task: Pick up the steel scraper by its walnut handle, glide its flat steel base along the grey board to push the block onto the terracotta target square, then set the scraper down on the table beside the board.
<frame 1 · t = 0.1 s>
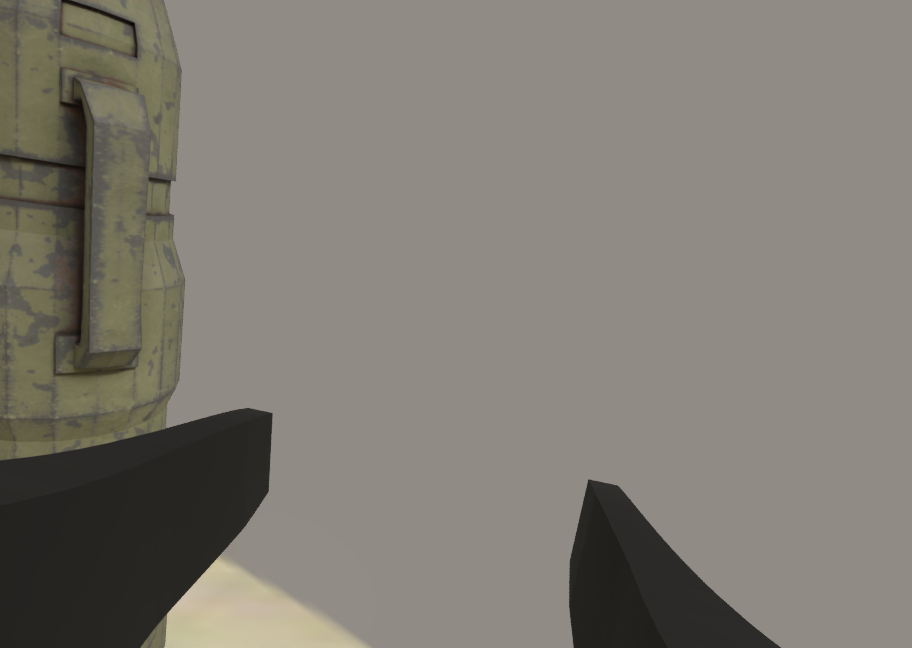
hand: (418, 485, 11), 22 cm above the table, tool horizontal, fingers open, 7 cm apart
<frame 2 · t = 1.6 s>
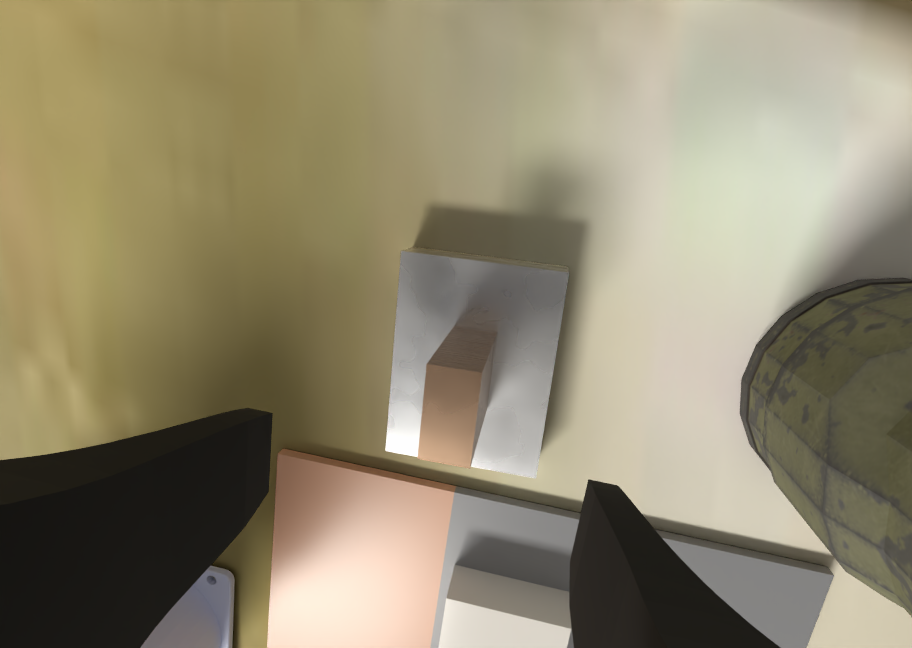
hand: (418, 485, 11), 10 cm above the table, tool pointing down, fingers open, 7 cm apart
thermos: (863, 395, 19), on the table
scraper: (477, 352, 21), on the table
block: (501, 624, 23), resting on mat
mat: (513, 619, 24), on the table
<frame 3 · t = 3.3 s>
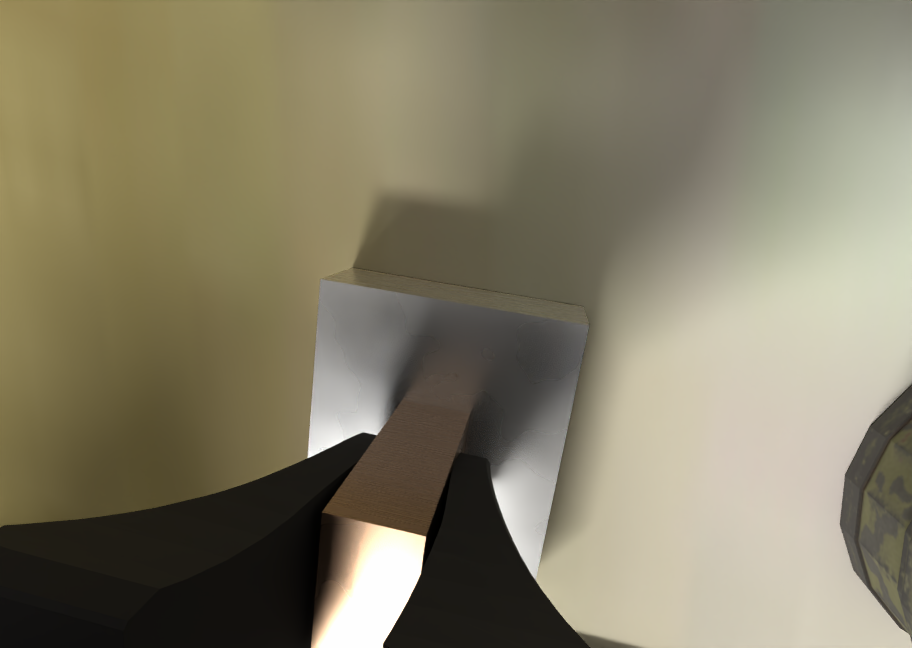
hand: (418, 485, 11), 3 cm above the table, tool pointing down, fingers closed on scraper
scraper: (443, 428, 14), on the table, touching gripper
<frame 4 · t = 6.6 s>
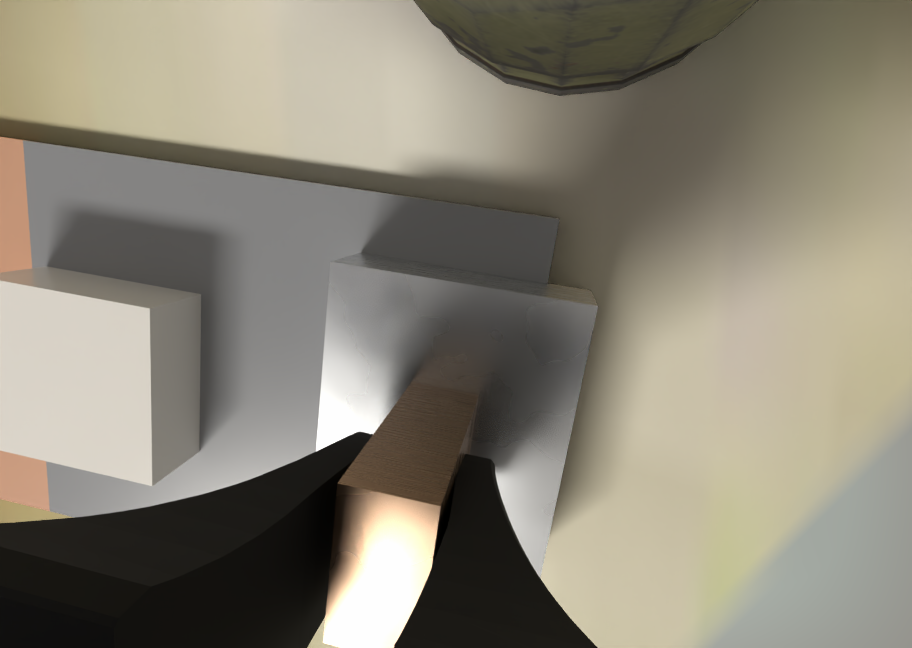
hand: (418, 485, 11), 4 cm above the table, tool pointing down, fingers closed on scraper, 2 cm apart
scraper: (451, 413, 14), point 1 cm above the table, touching gripper, mat
block: (124, 360, 16), resting on mat
mat: (151, 359, 16), on the table
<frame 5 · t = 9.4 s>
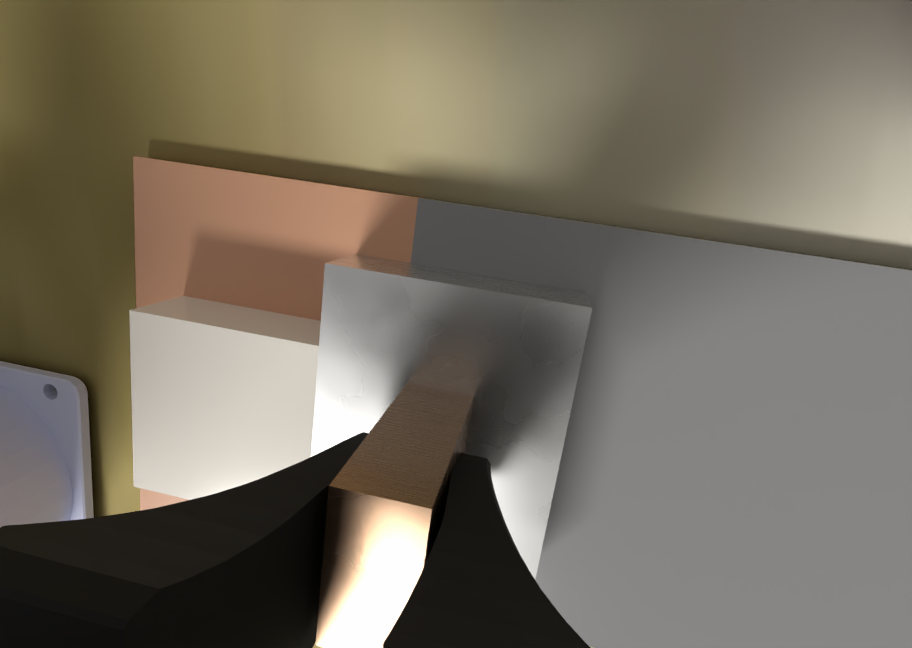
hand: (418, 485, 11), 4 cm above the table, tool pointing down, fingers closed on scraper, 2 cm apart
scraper: (446, 414, 14), point 1 cm above the table, touching gripper, mat, block
block: (260, 393, 15), resting on mat, touching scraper
mat: (517, 432, 15), on the table
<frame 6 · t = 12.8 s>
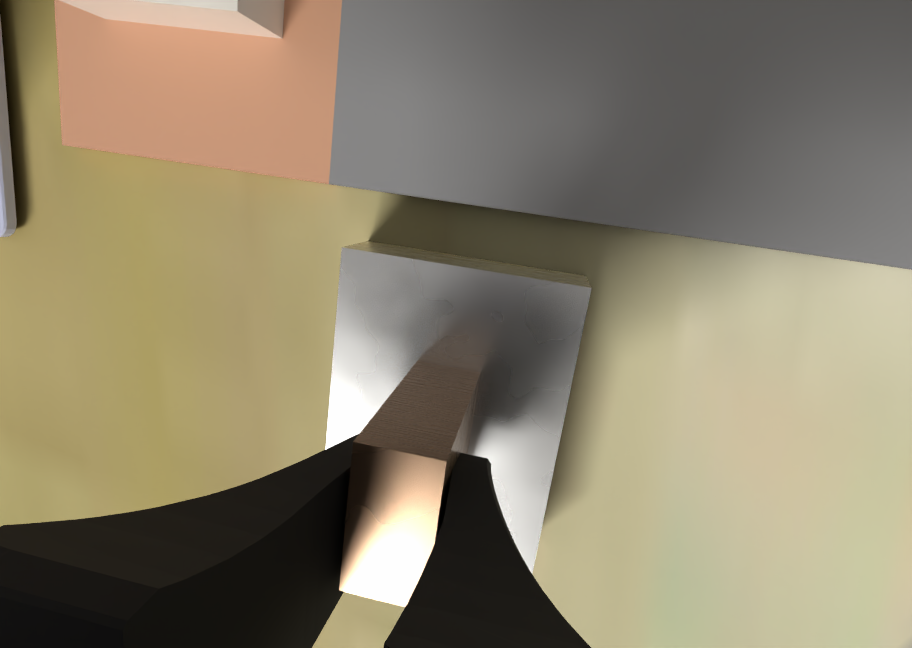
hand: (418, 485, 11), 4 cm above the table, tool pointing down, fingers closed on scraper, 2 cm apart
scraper: (454, 393, 15), on the table, touching gripper
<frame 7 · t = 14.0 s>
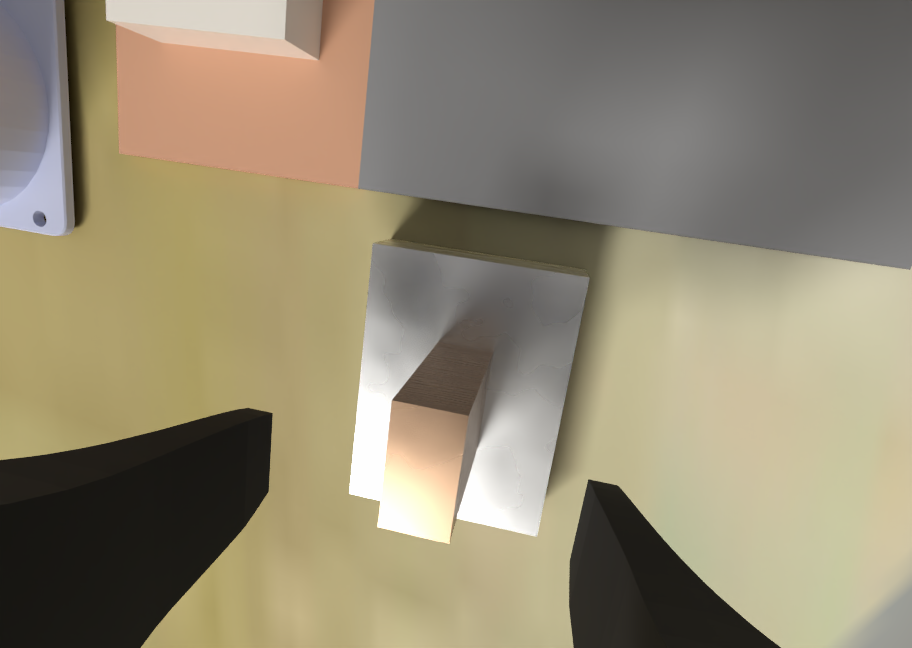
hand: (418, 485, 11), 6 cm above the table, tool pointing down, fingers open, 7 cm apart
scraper: (468, 373, 17), on the table
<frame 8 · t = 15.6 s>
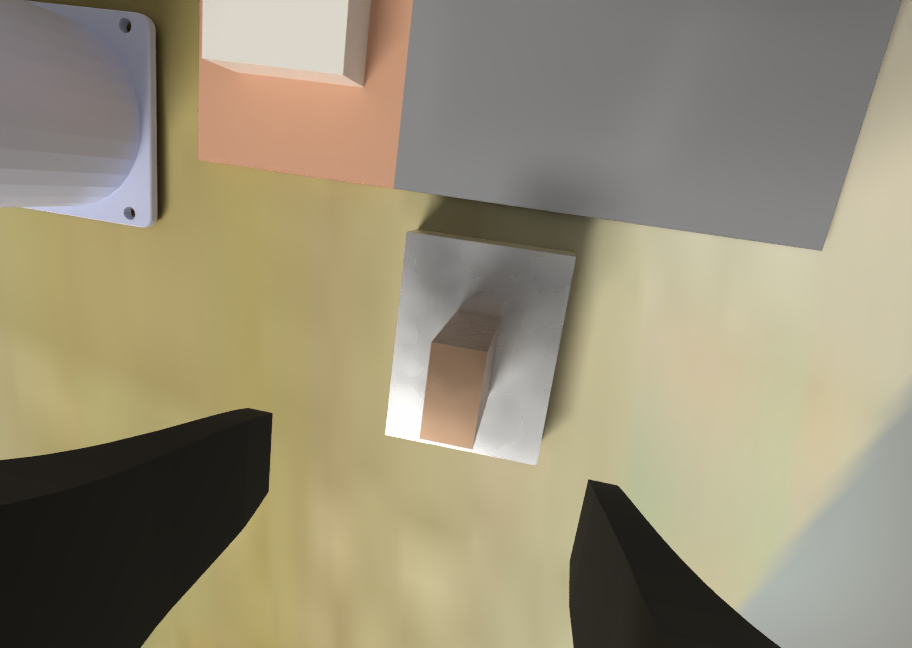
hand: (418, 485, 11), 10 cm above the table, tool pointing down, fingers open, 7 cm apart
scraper: (480, 338, 21), on the table
block: (302, 3, 18), resting on mat
mat: (513, 24, 18), on the table
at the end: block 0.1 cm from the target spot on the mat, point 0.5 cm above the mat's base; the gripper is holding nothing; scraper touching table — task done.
